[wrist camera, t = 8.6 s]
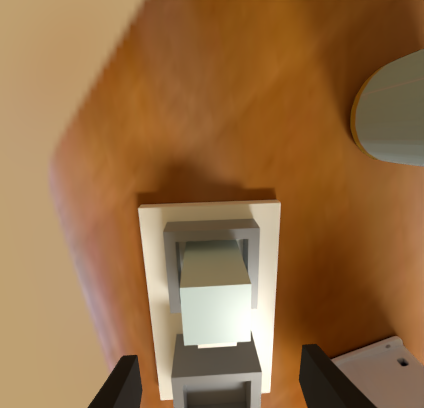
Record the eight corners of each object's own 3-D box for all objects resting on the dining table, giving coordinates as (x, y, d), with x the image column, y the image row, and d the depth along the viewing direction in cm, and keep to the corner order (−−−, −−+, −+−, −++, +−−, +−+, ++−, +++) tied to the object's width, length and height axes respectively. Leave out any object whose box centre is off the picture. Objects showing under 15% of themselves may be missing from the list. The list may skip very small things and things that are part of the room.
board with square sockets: (141, 204, 19) (120, 227, 14) (276, 199, 19) (302, 220, 14) (162, 389, 24) (152, 452, 19) (267, 382, 24) (283, 442, 20)
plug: (186, 241, 19) (179, 288, 13) (235, 239, 19) (251, 284, 13) (189, 290, 20) (184, 353, 14) (236, 288, 20) (250, 349, 14)
